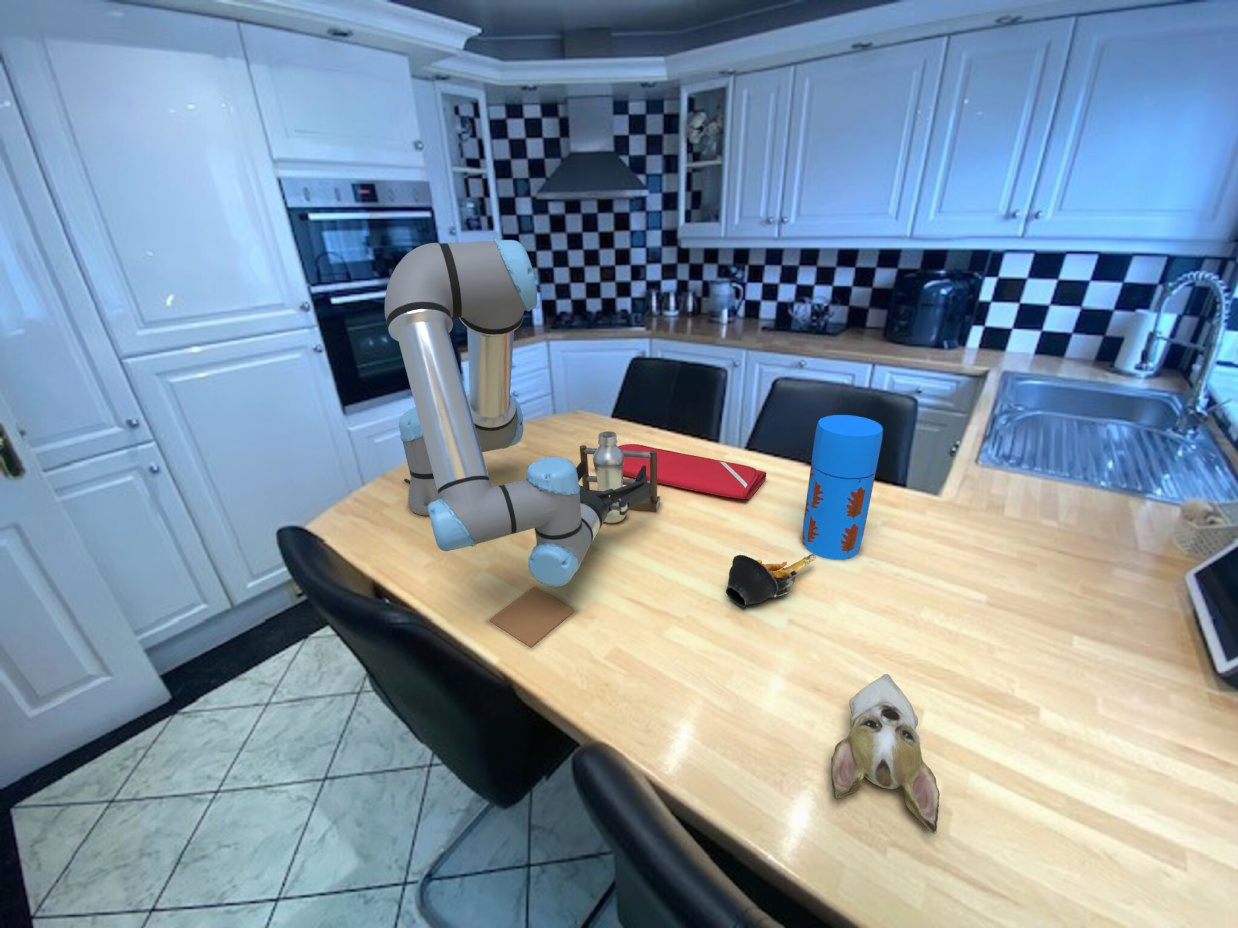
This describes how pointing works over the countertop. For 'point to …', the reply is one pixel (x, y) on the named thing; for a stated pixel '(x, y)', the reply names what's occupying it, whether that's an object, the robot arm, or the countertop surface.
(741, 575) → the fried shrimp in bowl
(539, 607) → the coaster
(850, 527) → the thermos
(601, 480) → the silver water bottle
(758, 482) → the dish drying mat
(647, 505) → the rail rack
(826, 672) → the countertop surface
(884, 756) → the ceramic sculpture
